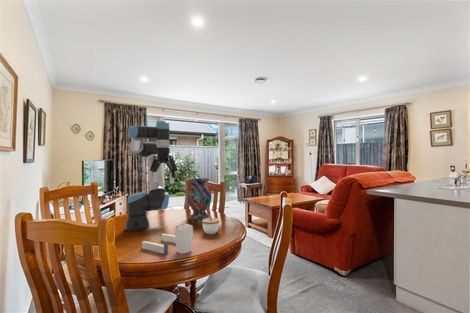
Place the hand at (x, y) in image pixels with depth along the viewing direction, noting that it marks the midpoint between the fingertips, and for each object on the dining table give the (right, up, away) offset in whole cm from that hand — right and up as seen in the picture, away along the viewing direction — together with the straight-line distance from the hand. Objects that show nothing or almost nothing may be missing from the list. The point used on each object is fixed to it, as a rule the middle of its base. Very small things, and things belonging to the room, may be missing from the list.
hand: (163, 183), depth 143 cm
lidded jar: (+28, -31, +5) cm, 42 cm away
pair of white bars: (+5, -32, -16) cm, 36 cm away
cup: (+17, -31, -23) cm, 43 cm away
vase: (+15, -32, +44) cm, 57 cm away
